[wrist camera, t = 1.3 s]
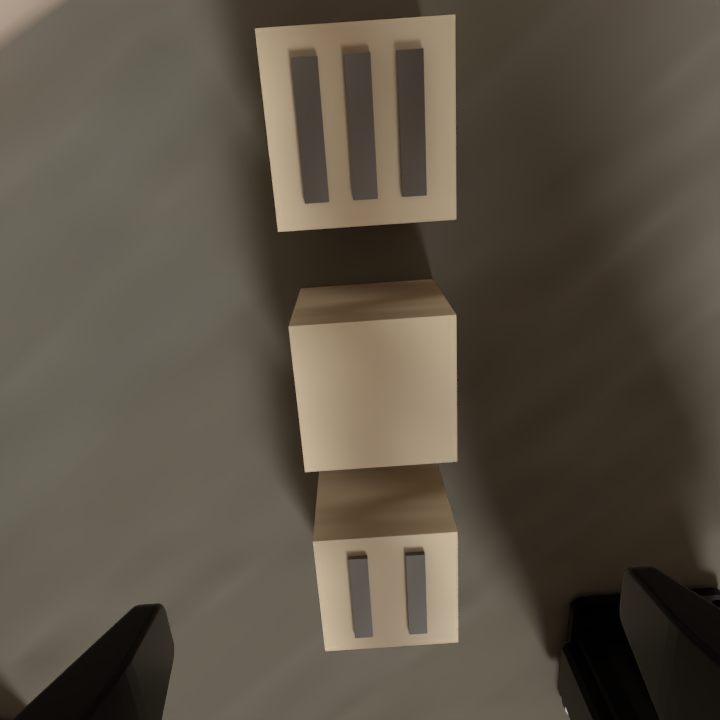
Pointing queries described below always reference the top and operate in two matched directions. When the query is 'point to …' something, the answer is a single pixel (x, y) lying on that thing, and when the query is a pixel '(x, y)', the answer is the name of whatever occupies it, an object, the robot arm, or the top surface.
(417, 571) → the two mark block
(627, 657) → the robot arm
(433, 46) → the three mark block
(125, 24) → the top surface
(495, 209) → the top surface
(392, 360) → the plain block
